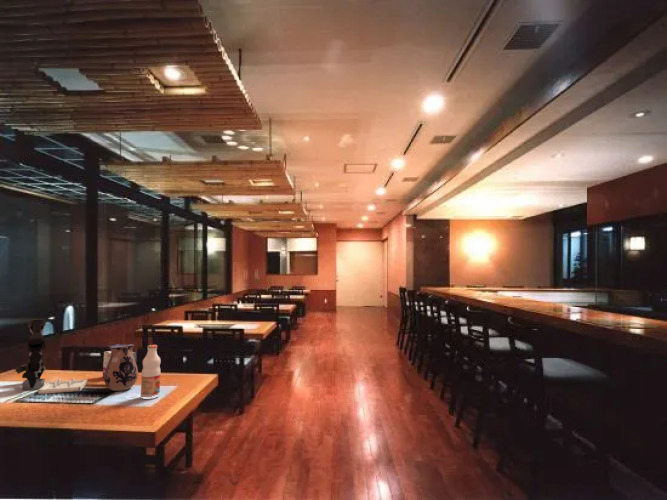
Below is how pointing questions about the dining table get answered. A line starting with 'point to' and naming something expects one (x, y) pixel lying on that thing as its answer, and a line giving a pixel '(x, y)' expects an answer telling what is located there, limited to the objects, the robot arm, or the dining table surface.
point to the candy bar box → (106, 360)
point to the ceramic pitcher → (121, 368)
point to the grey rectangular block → (38, 385)
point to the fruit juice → (151, 373)
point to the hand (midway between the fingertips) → (33, 386)
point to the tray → (62, 386)
